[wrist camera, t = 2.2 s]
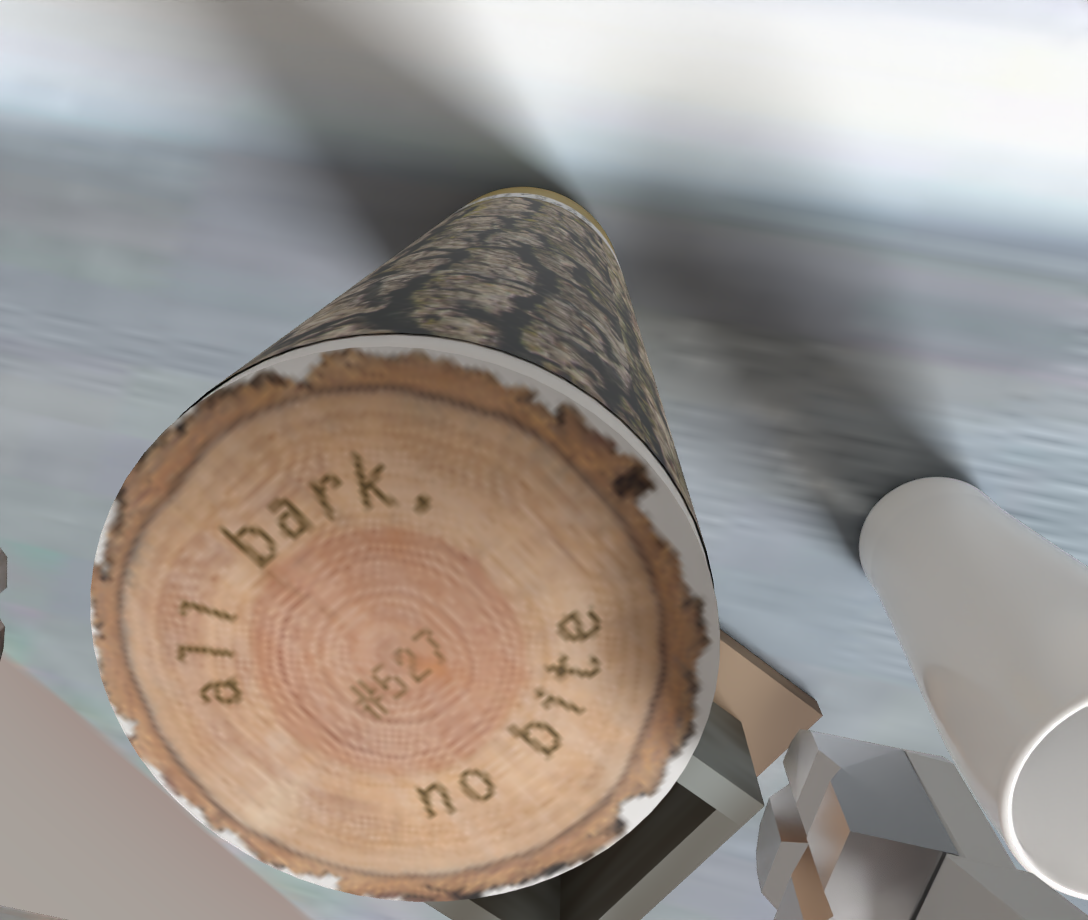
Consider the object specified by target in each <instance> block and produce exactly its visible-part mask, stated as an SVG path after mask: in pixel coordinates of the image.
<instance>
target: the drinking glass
mask: <svg viewBox="0 0 1088 920" xmlns="http://www.w3.org/2000/svg"><path fill="white" fill-rule="evenodd" d="M859 556H860V561H861V565H862V568H863V570H864V573H865V575H866V577H867V579H868V580H869V582H870V584H871V585H872V587H873V588H874V590H875V592H876V593H877V595H878V597H879V599H880V601H881V603H882V605H883V607H884V610H885V612H886V614H887V616H888V618H889V621H890V623H891V625H892V627H893V630H894V632H895V634H896V636H897V639H898V641H899V643H900V645H901V648H902V650H903V652H904V654H905V657H906V659H907V661H908V663H909V666H910V668H911V670H912V673H913V675H914V677H915V680H916V682H917V684H918V687H919V689H920V691H921V693H922V696H923V698H924V700H925V703H926V705H927V707H928V710H929V712H930V714H931V716H932V719H933V721H934V723H935V725H936V727H937V730H938V732H939V734H940V736H941V738H942V740H943V742H944V744H945V746H946V748H947V750H948V752H949V754H950V756H951V757H952V759H953V761H954V763H955V765H956V766H957V768H958V770H959V772H960V774H961V775H962V777H963V779H964V781H965V782H966V784H967V786H968V787H969V789H970V791H971V792H972V794H973V796H974V797H975V799H976V800H977V802H978V803H979V805H980V807H981V808H982V810H983V811H984V813H985V814H986V816H987V817H988V819H989V820H990V822H991V823H992V825H993V826H994V827H995V829H996V830H997V832H998V833H999V835H1000V836H1001V838H1002V839H1003V840H1004V842H1005V843H1006V845H1007V846H1008V848H1009V850H1010V851H1011V853H1012V854H1013V856H1014V857H1015V858H1016V860H1017V861H1018V862H1019V863H1020V864H1021V865H1022V866H1023V867H1024V868H1025V869H1026V870H1027V871H1028V872H1030V873H1033V874H1034V875H1036V876H1037V877H1038V878H1040V879H1041V880H1042V881H1043V882H1045V883H1046V884H1047V885H1049V886H1050V887H1051V888H1053V889H1055V890H1057V891H1060V892H1062V893H1065V894H1067V895H1070V896H1074V897H1077V898H1081V899H1085V900H1088V566H1087V565H1085V564H1084V563H1082V562H1081V561H1079V560H1078V559H1076V558H1075V557H1073V556H1072V555H1070V554H1069V553H1067V552H1066V551H1064V550H1063V549H1061V548H1060V547H1058V546H1057V545H1055V544H1054V543H1052V542H1051V541H1049V540H1048V539H1046V538H1045V537H1043V536H1042V535H1040V534H1039V533H1037V532H1036V531H1034V530H1033V529H1031V528H1030V527H1028V526H1027V525H1025V524H1024V523H1022V522H1021V521H1019V520H1018V519H1016V518H1015V517H1014V516H1012V515H1011V514H1009V513H1008V512H1006V511H1005V510H1003V509H1002V508H1001V507H999V506H998V505H997V504H996V503H995V502H994V501H993V500H992V499H991V498H989V497H988V496H987V495H986V494H985V493H983V492H982V491H981V490H979V489H978V488H976V487H975V486H973V485H971V484H969V483H966V482H964V481H961V480H958V479H953V478H948V477H927V478H921V479H916V480H913V481H910V482H907V483H905V484H902V485H900V486H898V487H896V488H895V489H893V490H892V491H890V492H889V493H887V494H886V495H885V496H884V497H883V498H881V499H880V500H879V501H878V502H877V504H876V505H875V506H874V507H873V508H872V510H871V511H870V513H869V514H868V516H867V518H866V520H865V522H864V524H863V527H862V530H861V534H860V539H859Z"/></svg>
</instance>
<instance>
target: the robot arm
mask: <svg viewBox="0 0 1088 920" xmlns="http://www.w3.org/2000/svg"><path fill="white" fill-rule="evenodd" d="M6 588H7V556H6V555H5V554H4V552H3V551H2V549H1V548H0V593H1V592H2V591H4V590H5V589H6ZM4 632H5V626H4V624H3V623H2V621H1V620H0V659H1V656H2V652H3V647H4ZM783 764H784V768H785V771H786V774H787V777H788V780H789V784H788V785H787V786H786V787H784V788H783V789H781V790H780V791H778V792H777V793H775V794H774V795H772V796H771V797H769V800H768V803H767V806H766V808H765V811H764V814H763V817H762V820H761V823H760V828H759V835H758V842H757V849H756V860H757V874H758V879H759V884H760V888H761V893H762V894H763V895H764V896H765V897H766V898H767V899H768V900H769V901H770V903H771V904H772V905H773V906H774V907H775V908H776V909H777V912H776V915H775V917H774V920H1088V915H1086V914H1085V913H1084V912H1082V911H1081V910H1080V909H1079V908H1077V907H1076V906H1075V905H1073V904H1072V903H1071V902H1069V901H1068V900H1067V899H1066V898H1064V897H1063V896H1062V895H1060V894H1059V893H1058V892H1056V891H1055V890H1054V889H1053V888H1051V887H1050V886H1049V885H1047V884H1046V883H1045V882H1043V881H1042V880H1041V879H1040V878H1038V877H1037V876H1036V875H1034V874H1033V873H1030V872H1026V871H1022V870H1018V869H1016V867H1015V866H1014V864H1013V862H1012V861H1011V859H1010V857H1009V856H1008V854H1007V852H1006V851H1005V849H1004V847H1003V846H1002V844H1001V842H1000V841H999V839H998V837H997V836H996V834H995V832H994V831H993V829H992V827H991V826H990V824H989V822H988V820H987V819H986V817H985V815H984V814H983V812H982V810H981V809H980V807H979V805H978V804H977V802H976V800H975V799H974V797H973V795H972V794H971V792H970V790H969V789H968V787H967V785H966V784H965V782H964V780H963V779H962V777H961V775H960V774H959V772H958V770H957V769H956V767H955V765H954V764H953V763H952V762H950V761H949V760H947V759H946V758H944V757H943V756H937V755H932V754H927V753H921V752H916V751H910V750H905V749H900V748H895V747H890V746H885V745H880V744H875V743H870V742H865V741H860V740H855V739H850V738H845V737H840V736H835V735H830V734H825V733H820V732H815V731H810V730H802V729H800V730H799V731H798V733H797V734H796V735H795V737H794V738H793V740H792V741H791V743H790V745H789V748H788V750H787V753H786V755H785V758H784V760H783ZM0 920H67V919H61V918H57V917H52V916H48V915H43V914H38V913H33V912H29V911H24V910H20V909H15V908H10V907H5V906H1V905H0Z"/></svg>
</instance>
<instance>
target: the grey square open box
mask: <svg viewBox="0 0 1088 920" xmlns="http://www.w3.org/2000/svg"><path fill="white" fill-rule="evenodd" d="M822 716H823V715H822V713H821V710H820V708H819V706H818V703H817V701H815V700H814V699H813V698H811V697H810V696H809V695H807V694H806V693H805V692H803V691H802V690H801V689H799V688H798V687H797V686H795V685H794V684H793V683H791V682H790V681H789V680H787V679H786V678H785V677H783V676H782V675H781V674H779V673H778V672H777V671H775V670H774V669H773V668H771V667H770V666H769V665H767V664H766V663H765V662H763V661H762V660H761V659H759V658H758V657H757V656H755V655H754V654H753V653H751V652H750V651H749V650H747V649H746V648H745V647H743V646H742V645H741V644H739V643H738V642H737V641H735V640H734V639H732V638H731V637H730V636H728V635H727V634H726V633H724V632H723V631H722V630H720V662H719V669H718V676H717V683H716V690H715V694H714V698H713V702H712V706H711V710H710V713H709V717H708V720H707V722H706V725H705V728H704V730H703V733H702V735H701V738H700V740H699V743H698V745H697V747H696V749H695V751H694V752H693V754H692V756H691V758H690V760H689V762H688V764H687V766H686V767H685V769H684V771H683V772H682V773H681V775H680V776H679V778H678V779H677V781H676V782H675V784H674V785H673V786H672V788H671V789H670V791H669V792H668V793H667V794H666V796H665V797H664V798H663V799H662V800H661V801H660V802H659V804H658V805H657V806H656V807H655V808H654V809H653V811H652V812H651V813H650V814H649V815H648V816H647V817H645V818H644V819H643V820H642V821H641V822H640V823H639V824H638V825H637V826H636V827H635V828H634V829H633V830H632V831H630V832H629V833H628V834H626V835H625V836H624V837H622V838H621V839H620V840H619V841H617V842H616V843H615V844H613V845H612V846H611V847H609V848H608V849H606V850H605V851H603V852H601V853H600V854H598V855H596V856H595V857H593V858H592V859H590V860H588V861H587V862H585V863H583V864H581V865H579V866H577V867H575V868H573V869H571V870H569V871H567V872H565V873H563V874H561V875H558V876H556V877H553V878H551V879H548V880H545V881H543V882H540V883H537V884H535V885H532V886H528V887H525V888H521V889H518V890H514V891H510V892H507V893H503V894H497V895H492V896H486V897H481V898H475V899H465V900H455V901H436V902H425V903H426V904H428V905H429V906H431V907H433V908H434V909H436V910H437V911H439V912H441V913H442V914H444V915H445V916H447V917H449V918H450V919H452V920H641V919H642V918H643V917H644V916H645V915H646V914H647V913H648V912H649V911H650V910H652V909H653V908H654V907H655V906H656V905H657V904H658V903H659V902H660V901H661V900H662V899H664V898H665V897H666V896H667V895H668V894H669V893H670V892H671V891H672V890H673V889H674V888H676V887H677V886H678V885H679V884H680V883H681V882H682V881H683V880H684V879H685V878H686V877H688V876H689V875H690V874H691V873H692V872H693V871H694V870H695V869H696V868H697V867H698V866H700V865H701V864H702V863H703V862H704V861H705V860H706V859H707V858H708V857H709V856H710V855H712V854H713V853H714V852H715V851H716V850H717V849H718V848H719V847H720V846H721V845H722V844H724V843H725V842H726V841H727V840H728V839H729V838H730V837H731V836H732V835H733V834H734V833H736V832H737V831H738V830H739V829H740V828H741V827H742V826H743V825H744V824H745V823H746V822H748V821H749V820H750V819H751V818H752V817H753V816H754V815H755V814H756V813H757V812H758V811H760V810H761V809H762V808H763V807H764V802H763V799H762V795H761V792H760V788H759V784H758V781H757V777H758V776H759V775H760V774H761V773H762V772H763V771H764V770H765V769H766V768H767V767H768V766H769V765H770V764H772V763H773V762H774V761H775V760H776V759H777V758H778V757H779V756H780V755H781V754H782V753H783V752H784V751H785V750H787V749H788V748H789V745H790V743H791V741H792V740H793V738H794V737H795V735H796V734H797V733H798V731H799V730H800V729H802V730H808V729H809V728H810V727H811V726H812V725H813V724H814V723H815V722H817V721H818V720H819V719H820V718H821V717H822Z"/></svg>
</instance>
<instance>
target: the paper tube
mask: <svg viewBox="0 0 1088 920" xmlns="http://www.w3.org/2000/svg"><path fill="white" fill-rule="evenodd" d="M620 269H621V268H620V265H619V263H618V260H617V257H616V254H615V251H614V249H613V246H612V244H611V242H610V240H609V238H608V236H607V235H606V233H605V231H604V230H603V228H602V227H601V226H600V225H599V223H598V222H597V221H596V220H595V219H594V218H593V217H592V215H591V214H590V213H588V212H587V211H586V210H585V209H584V208H583V207H581V206H580V205H578V204H577V203H575V202H574V201H572V200H571V199H569V198H567V197H565V196H563V195H560V194H558V193H555V192H552V191H549V190H545V189H541V188H535V187H511V188H504V189H500V190H496V191H493V192H490V193H487V194H485V195H482V196H481V197H479V198H477V199H475V200H473V201H472V202H470V203H469V204H467V205H466V206H464V207H462V208H461V209H459V210H458V211H456V213H453V214H452V215H451V216H449V217H448V218H446V219H445V220H444V221H442V222H441V223H440V224H438V225H437V226H435V227H434V228H433V229H431V230H430V231H429V232H427V233H426V234H424V235H423V236H422V237H420V238H419V239H417V240H416V241H415V242H413V243H412V244H411V245H409V246H408V247H406V248H405V249H404V250H402V251H401V252H400V253H398V254H397V255H395V256H394V257H393V258H391V259H390V260H389V261H387V262H386V263H384V264H383V265H382V266H380V267H379V268H378V269H376V270H375V271H373V272H372V273H371V274H369V275H368V276H367V277H365V278H364V279H362V280H361V281H360V282H358V283H357V284H356V285H354V286H353V287H351V288H350V289H349V290H347V291H346V292H345V293H343V294H342V295H340V296H339V297H338V298H336V299H335V300H334V301H332V302H331V303H329V304H328V305H327V306H325V307H324V308H323V309H321V310H320V311H318V312H317V313H316V314H314V315H313V316H312V317H310V318H309V319H307V320H306V321H305V322H303V323H302V324H301V325H299V326H298V327H296V328H295V329H294V330H292V331H291V332H290V333H288V334H287V335H285V336H284V337H283V338H281V339H280V340H278V341H277V342H276V343H274V344H273V345H272V346H270V347H269V348H267V349H266V350H265V351H263V352H262V353H261V354H259V355H258V356H256V357H255V358H254V359H252V360H251V361H250V362H248V363H247V364H245V365H244V366H243V367H241V368H240V369H239V370H237V371H236V372H234V373H233V374H232V375H230V376H229V377H228V378H226V379H225V380H223V381H222V382H221V383H219V384H218V385H217V386H215V387H214V388H212V389H211V390H210V391H208V392H207V393H206V394H205V395H203V396H202V397H201V398H200V399H199V400H198V401H196V402H195V403H194V404H193V405H192V406H191V407H189V408H188V409H187V410H186V411H185V412H184V413H183V414H182V415H181V416H180V417H179V418H178V419H177V420H176V421H175V422H174V423H173V424H172V425H170V426H169V427H168V428H167V429H166V430H165V431H164V432H163V433H162V434H161V435H160V436H159V437H158V439H157V440H156V441H155V442H154V443H153V444H152V445H151V446H150V447H149V448H148V450H147V451H146V452H145V453H144V454H143V456H142V457H141V458H140V460H139V461H138V463H137V464H136V465H135V467H134V468H133V470H132V471H131V472H130V474H129V475H128V477H127V478H126V480H125V482H124V484H123V486H122V487H121V489H120V491H119V493H118V495H117V497H116V499H115V500H114V502H113V504H112V506H111V509H110V512H109V514H108V517H107V519H106V522H105V525H104V527H103V530H102V532H101V536H100V540H99V544H98V548H97V552H96V556H95V560H94V567H93V575H92V584H91V627H92V635H93V643H94V650H95V654H96V659H97V663H98V667H99V671H100V675H101V679H102V682H103V684H104V687H105V690H106V693H107V696H108V698H109V701H110V704H111V706H112V708H113V710H114V712H115V714H116V716H117V719H118V721H119V723H120V725H121V727H122V729H123V731H124V733H125V734H126V736H127V737H128V739H129V741H130V742H131V744H132V746H133V747H134V749H135V750H136V752H137V754H138V755H139V757H140V758H141V759H142V761H143V762H144V763H145V765H146V766H147V767H148V769H149V770H150V771H151V772H152V774H153V775H154V776H155V778H156V779H157V780H158V781H159V782H160V783H161V784H162V786H163V787H164V788H165V789H166V790H167V791H168V792H169V793H170V794H171V795H172V796H173V798H174V799H175V800H176V801H177V802H178V803H180V804H181V805H182V806H183V807H184V808H185V809H186V810H187V811H188V812H189V813H191V814H192V815H193V816H194V817H195V818H196V819H197V820H198V821H200V822H201V823H202V824H204V825H205V826H206V827H208V828H209V829H210V830H212V831H213V832H214V833H215V834H217V835H218V836H219V837H221V838H222V839H224V840H225V841H227V842H229V843H230V844H232V845H233V846H235V847H236V848H238V849H240V850H241V851H243V852H244V853H246V854H248V855H250V856H252V857H254V858H255V859H257V860H259V861H261V862H263V863H265V864H267V865H269V866H271V867H273V868H275V869H278V870H280V871H282V872H285V873H287V874H289V875H292V876H294V877H297V878H299V879H302V880H305V881H308V882H311V883H314V884H317V885H320V886H323V887H326V888H330V889H334V890H338V891H342V892H346V893H351V894H355V895H360V896H366V897H373V898H379V899H386V900H399V901H413V902H436V901H455V900H465V899H475V898H481V897H486V896H492V895H497V894H503V893H507V892H510V891H514V890H518V889H521V888H525V887H528V886H532V885H535V884H537V883H540V882H543V881H545V880H548V879H551V878H553V877H556V876H558V875H561V874H563V873H565V872H567V871H569V870H571V869H573V868H575V867H577V866H579V865H581V864H583V863H585V862H587V861H588V860H590V859H592V858H593V857H595V856H596V855H598V854H600V853H601V852H603V851H605V850H606V849H608V848H609V847H611V846H612V845H613V844H615V843H616V842H617V841H619V840H620V839H621V838H622V837H624V836H625V835H626V834H628V833H629V832H630V831H632V830H633V829H634V828H635V827H636V826H637V825H638V824H639V823H640V822H641V821H642V820H643V819H644V818H645V817H647V816H648V815H649V814H650V813H651V812H652V811H653V809H654V808H655V807H656V806H657V805H658V804H659V802H660V801H661V800H662V799H663V798H664V797H665V796H666V794H667V793H668V792H669V791H670V789H671V788H672V786H673V785H674V784H675V782H676V781H677V779H678V778H679V776H680V775H681V773H682V772H683V771H684V769H685V767H686V766H687V764H688V762H689V760H690V758H691V756H692V754H693V752H694V751H695V749H696V747H697V745H698V743H699V740H700V738H701V735H702V733H703V730H704V728H705V725H706V722H707V720H708V717H709V713H710V710H711V706H712V702H713V698H714V694H715V690H716V683H717V676H718V669H719V662H720V628H719V618H718V609H717V601H716V597H715V592H714V583H713V577H712V573H711V569H710V564H709V560H708V555H707V551H706V548H705V544H704V541H703V538H702V535H701V531H700V528H699V525H698V521H697V518H696V515H695V512H694V508H693V505H692V502H691V498H690V495H689V492H688V488H687V485H686V482H685V479H684V475H683V472H682V469H681V465H680V462H679V459H678V456H677V452H676V449H675V446H674V442H673V439H672V436H671V432H670V429H669V426H668V423H667V419H666V416H665V413H664V409H663V406H662V403H661V400H660V396H659V393H658V390H657V386H656V383H655V380H654V376H653V373H652V370H651V367H650V363H649V360H648V357H647V353H646V350H645V347H644V344H643V340H642V337H641V334H640V330H639V327H638V324H637V320H636V317H635V314H634V311H633V307H632V304H631V301H630V297H629V294H628V291H627V288H626V284H625V281H624V278H623V274H622V271H621V270H620Z"/></svg>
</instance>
